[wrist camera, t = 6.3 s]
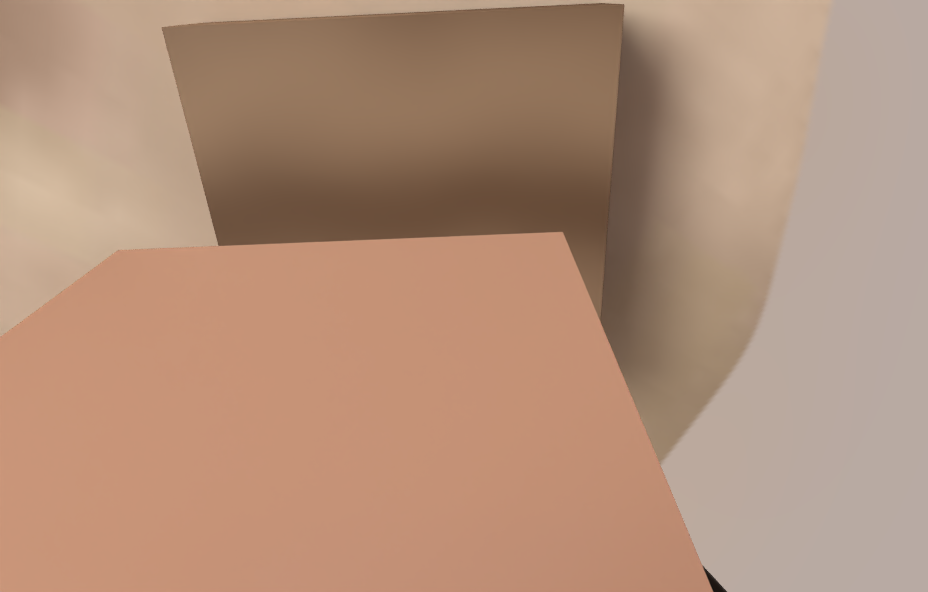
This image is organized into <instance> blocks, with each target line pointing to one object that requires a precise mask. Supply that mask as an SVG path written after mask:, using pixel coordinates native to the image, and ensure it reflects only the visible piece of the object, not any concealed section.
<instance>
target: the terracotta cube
mask: <svg viewBox="0 0 928 592" xmlns="http://www.w3.org/2000/svg"><path fill="white" fill-rule="evenodd" d="M0 592H713V590H712V588H711V585H710V583H709V581H708V578H707V576H706V573H705V571H704V569H703V566H702V564H701V562H700V559H699V557H698V554H697V552H696V550H695V547H694V545H693V542H692V540H691V538H690V535H689V533H688V530H687V528H686V526H685V523H684V521H683V518H682V516H681V514H680V511H679V509H678V506H677V504H676V502H675V499H674V497H673V494H672V492H671V490H670V487H669V485H668V483H667V480H666V478H665V475H664V473H663V471H662V468H661V466H660V463H659V461H658V459H657V456H656V454H655V451H654V449H653V447H652V444H651V442H650V439H649V437H648V435H647V432H646V430H645V428H644V425H643V423H642V420H641V418H640V416H639V413H638V411H637V408H636V406H635V404H634V401H633V399H632V396H631V394H630V392H629V389H628V387H627V384H626V382H625V380H624V377H623V375H622V372H621V370H620V368H619V365H618V363H617V361H616V358H615V356H614V353H613V351H612V349H611V346H610V344H609V341H608V339H607V337H606V334H605V332H604V329H603V327H602V325H601V322H600V320H599V317H598V315H597V313H596V310H595V308H594V306H593V303H592V301H591V298H590V296H589V294H588V291H587V289H586V286H585V284H584V282H583V279H582V277H581V274H580V272H579V270H578V267H577V265H576V262H575V260H574V258H573V255H572V253H571V251H570V248H569V246H568V243H567V241H566V239H565V236H564V234H563V232H547V233H523V234H498V235H474V236H450V237H426V238H402V239H377V240H353V241H329V242H305V243H281V244H256V245H232V246H208V247H184V248H160V249H135V250H118V251H116V252H115V253H114V254H112V255H111V256H110V257H108V258H107V259H106V260H104V261H103V262H101V263H100V264H99V265H97V266H96V267H95V268H93V269H92V270H91V271H89V272H88V273H87V274H85V275H84V276H83V277H81V278H80V279H78V280H77V281H76V282H74V283H73V284H72V285H70V286H69V287H68V288H66V289H65V290H64V291H62V292H61V293H59V294H58V295H57V296H55V297H54V298H53V299H51V300H50V301H49V302H47V303H46V304H45V305H43V306H42V307H41V308H39V309H38V310H36V311H35V312H34V313H32V314H31V315H30V316H28V317H27V318H26V319H24V320H23V321H22V322H20V323H19V324H17V325H16V326H15V327H13V328H12V329H11V330H9V331H8V332H7V333H5V334H4V335H3V336H1V337H0Z"/></svg>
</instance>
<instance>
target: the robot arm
mask: <svg viewBox="0 0 928 592" xmlns="http://www.w3.org/2000/svg"><path fill="white" fill-rule="evenodd" d="M702 566H703V565H702ZM703 569H704V571H705V573H706V576H707V578H708V581H709V583H710V585H711V588H712V590H713V592H727V591H726V590H725V589H724V588H723V587H722V586H721V585H720V584H719V583H718V582H717V581H716V579H715V578H714V577H713V576H712V575H711V574H710V573H709V572H708V571H707V570H706V569H705V568H704V567H703Z"/></svg>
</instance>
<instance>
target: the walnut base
mask: <svg viewBox="0 0 928 592" xmlns="http://www.w3.org/2000/svg"><path fill="white" fill-rule="evenodd" d="M623 16H624V4H606V3H597V4H576V5H556V6H536V7H516V8H495V9H475V10H455V11H434V12H414V13H394V14H373V15H353V16H333V17H312V18H292V19H272V20H252V21H231V22H211V23H198V24H188V25H178V26H169V27H162V31H163V34H164V38H165V42H166V46H167V50H168V54H169V57H170V61H171V65H172V69H173V73H174V77H175V80H176V84H177V88H178V92H179V96H180V100H181V103H182V107H183V111H184V115H185V119H186V123H187V126H188V130H189V134H190V138H191V142H192V146H193V149H194V153H195V157H196V161H197V165H198V169H199V172H200V176H201V180H202V184H203V188H204V192H205V195H206V199H207V203H208V207H209V211H210V215H211V218H212V222H213V226H214V230H215V234H216V238H217V241H218V245H219V246H232V245H256V244H281V243H305V242H329V241H353V240H377V239H402V238H426V237H450V236H474V235H498V234H523V233H547V232H563V234H564V236H565V239H566V241H567V243H568V246H569V248H570V251H571V253H572V255H573V258H574V260H575V262H576V265H577V267H578V270H579V272H580V274H581V277H582V279H583V282H584V284H585V286H586V289H587V291H588V294H589V296H590V298H591V301H592V303H593V306H594V308H595V310H596V313H597V315H598V317H599V320H600V319H601V306H602V292H603V279H604V266H605V253H606V240H607V226H608V213H609V200H610V187H611V174H612V161H613V147H614V134H615V121H616V108H617V95H618V82H619V68H620V55H621V42H622V29H623Z"/></svg>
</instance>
